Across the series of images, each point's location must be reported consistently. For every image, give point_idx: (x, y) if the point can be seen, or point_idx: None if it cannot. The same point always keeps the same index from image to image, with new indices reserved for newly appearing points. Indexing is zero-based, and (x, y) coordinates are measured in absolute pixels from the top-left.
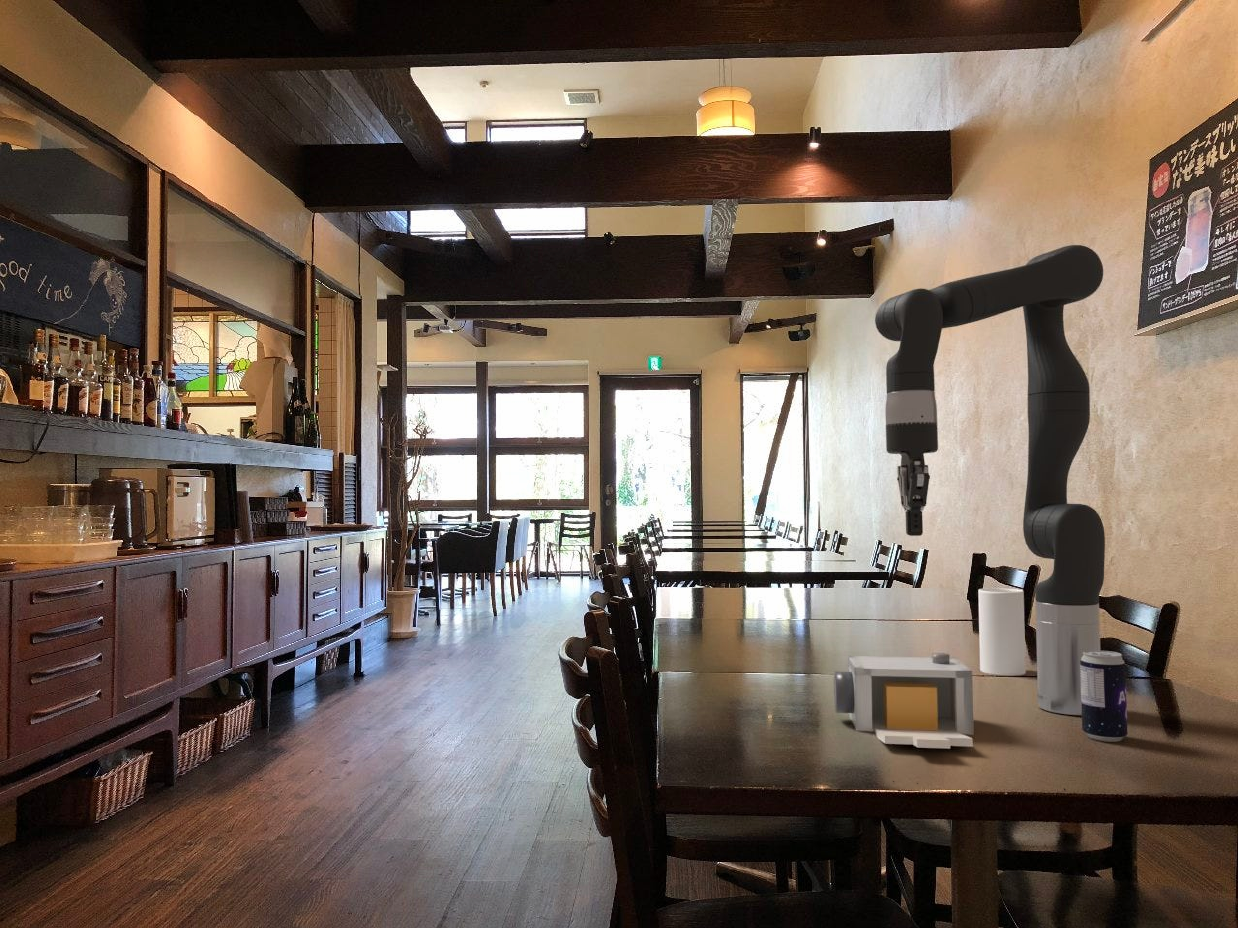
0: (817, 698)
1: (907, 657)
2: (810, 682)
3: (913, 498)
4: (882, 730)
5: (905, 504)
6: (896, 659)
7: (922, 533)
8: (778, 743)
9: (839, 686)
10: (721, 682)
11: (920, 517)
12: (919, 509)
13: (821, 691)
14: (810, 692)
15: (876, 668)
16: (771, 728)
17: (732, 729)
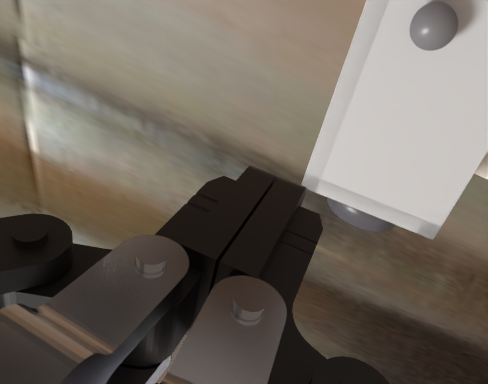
0: (182, 120)
1: (344, 74)
2: (80, 83)
3: (14, 301)
4: (484, 168)
5: (156, 377)
6: (362, 112)
7: (306, 188)
8: (419, 281)
9: (392, 226)
10: (92, 204)
11: (300, 276)
12: (294, 336)
13: (138, 92)
14: (145, 113)
15: (448, 204)
16: (342, 255)
17: (335, 297)
